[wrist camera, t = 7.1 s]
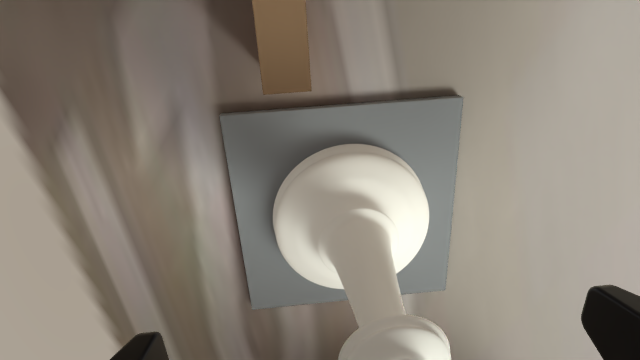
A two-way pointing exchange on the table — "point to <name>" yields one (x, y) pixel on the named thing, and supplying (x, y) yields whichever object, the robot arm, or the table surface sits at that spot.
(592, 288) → the robot arm
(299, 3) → the wooden frame
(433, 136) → the pad
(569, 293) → the table surface
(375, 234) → the chess piece
